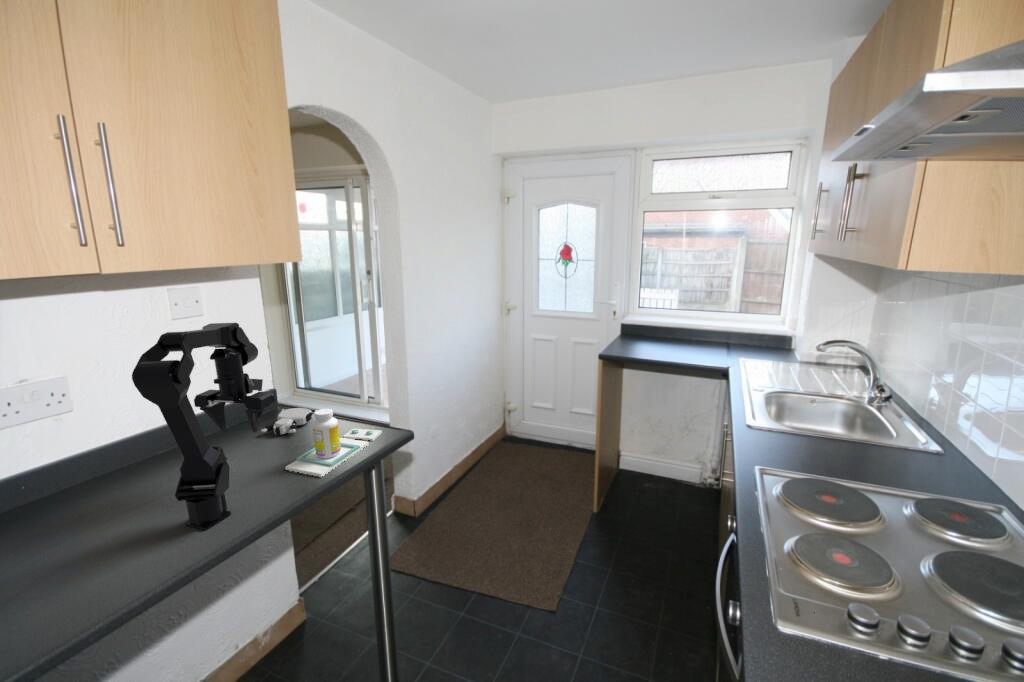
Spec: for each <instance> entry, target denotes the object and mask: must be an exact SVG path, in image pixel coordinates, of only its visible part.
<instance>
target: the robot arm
mask: <svg viewBox="0 0 1024 682" xmlns="http://www.w3.org/2000/svg"><path fill="white" fill-rule="evenodd" d="M159 336H160V337H159V338H158V339H157V341H156V343H155V344H154V345H153V346H151V347H150V348H149V349H148V350H146V351H145V352H144V353H142V355H140V357H139V359H138V360H137V363H136V365H135V367H134V369H133V371H132V374H131V380H132V383H133V385H134V386H135V388H136V389H137V391H138V392H139V393H140V395H141V396H142V397H143V398H144V399H146V400H147V401H149V402H151V403H153V404H154V405H156V406H157V407H158V408H159V411H160V412H161V415H162V416H163V419H164V421H165V422H166V424H167V427H168V429H169V431H170V432H171V435H172V437H173V439H174V441H175V444H176V445H177V447H178V449H179V452H180V454H181V456H182V462H181V465H180V468H179V472H180V476H179V479H178V483H177V486H176V490H175V493H174V496H175V498H176V500H177V502H182V501H185V504H186V510H187V515H188V520H187V521H185V523H184V524H185V525H186V526H189V527H193V528H197V529H200V530H208V529H210V528H211V527H213V526H215V525H216V524H218V523H220V522H221V521H222V520H224V519H226V518H227V517H229V516H231V515H232V511H231V510H227V509H228V505H227V500H226V494H225V493H226V492H227V490H228V489H229V488H230V465H229V463H228V458H227V457H226V456H225V452H224V449H223V448H222V447H221V446H220V445H218V446H210V444H209V443H208V441H207V438H206V436H205V433H204V431H203V429H202V426H201V425H200V422H199V420H198V418H197V415H196V413H195V410H194V409H193V406H192V404H191V401H190V400H189V398H188V391H189V388H190V386H191V384H192V381H191V377H190V376H191V375H192V371H193V370H194V367H195V364H196V363H195V361H194V358H193V356H192V355H193V354H192V353H193V350H194V349H199V348H204V347H211V348H214V350H213V352H212V353H211V355H210V357H209V359H210V360H211V361H212V360H213V361H214V366H215V373H216V378H214V379H213V383H214V384H215V385H216V384H218V389H208V390H206V391H203V392H200V393H198V394H196V395H195V397H194V399H193V403H194V404H193V405H194V407H195V408H199V410H200V411H203V412H204V413H205V415H207V416H208V417H209V418H210V420H211V421H212V422H214V424H215V425H216V426H217V427H218V428H219V429H220V430H221V431H222V432H223V431H225V430H227V423H226V415H225V407H226V404H227V403H229V404H244V406H245V408H246V410H245V411H244V412H245V414H246V417H247V419H248V423H249V425H250V428H251V430H252V432H253V433H257V432H258V430H259V427H260V423H261V420H262V415H263V413H264V411H265V409H266V408H268V407H270V406H271V405H272V404H274V403H276V400H275V399H276V398H275V395H274V394H273V393H272V391H271V392H270V391H263V382H264V379H263V378H261V379H258V378H250V376H249V374H248V373H246V372H244V368H243V367H245V366H246V365H248V364H250V363H251V362H253V361H255V360H256V359H257V358H258V355H259V349H258V347H257V346H256V345H255V344H254V343H252V342H251V340H250V339H249V337H248V336H247V334H246V332H245V331H244V329H243V327H241V326H240V324H239V323H238V322H220V323H217V322H216V323H213V322H212V323H208V324H207V325H204V326H202V327H201V329H194V330H186V331H185V330H184V331H167V332H165V333H162V334H161V335H159ZM175 352H182V356H181V358H180V360H179V359H176V360H175V359H171V360H170V359H169V360H164V359H165V358H166V357H167V356H168V355H169V354H170V353H175ZM254 391H257V392H255V393H254ZM252 393H253V394H252ZM249 394H252V395H249Z"/></svg>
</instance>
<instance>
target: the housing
mask: <svg viewBox="0 0 1024 682" xmlns="http://www.w3.org/2000/svg"><path fill="white" fill-rule="evenodd" d="M339 437H340V436H339ZM340 445H341V452H340V453H339V454H338V455H337V456H335V457H332V458H325V459H323V458H319V457H317V455H316V450H315V446H313V448H311V449H309V450H308V451H306V452H304V453H303V454H301V455H300V456H297V457H296V458H295V459H296V460H294V461H292V462H291V463H289V464H288V465H286V466H285V471H286V470H289V471H288V472H292V471H294V472H293V473H297V472H299V473H298V474H302V473H303V475H307V474H308V476H312V475H313V477H317V476H318V478H323V477H324V476H325V474H326V475H327V474H329V473H330V472H332V471H333V470H334V469H336V468H337V467H339V466H341V465H342V464H343V463H345V462H346V461H348V460H349V459H351V458H352V457H353V456H355V455H357V454H358V453H360V452H361V451H362V450H364V449H365V448H367V447H368V446H369V445H370V442H369V441H367V440H355V439H347V438H343V437H340ZM366 446H367V447H366ZM364 447H365V448H364ZM363 448H364V449H363ZM360 450H361V451H360ZM357 452H358V453H357ZM354 454H355V455H354ZM351 456H352V457H351ZM350 457H351V458H350ZM348 458H349V459H348ZM347 459H348V460H347ZM344 461H345V462H344ZM342 462H343V463H342ZM341 463H342V464H341ZM338 465H339V466H338ZM335 467H336V468H335ZM332 469H333V470H332ZM331 470H332V471H331ZM328 472H329V473H328ZM322 476H323V477H322Z"/></svg>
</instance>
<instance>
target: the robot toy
mask: <svg viewBox="0 0 1024 682" xmlns="http://www.w3.org/2000/svg"><path fill="white" fill-rule="evenodd" d="M316 411H318V409H315V410H314V412H312V410H311V409H308V408H305V407H304V408H302V407H294V408H292V407H291V408H287V409H285V408H282V409H281V411H280V413H278V414H277V416H276V420H277V421H275V422H274V423H270V424H268V425H265V426H264V428H261V431H260V432H261V433H269V432H271V431H273V432H274V435H285V434H286V433H288V434H289V433H290V434H292V433H296V432H297V428H298V427H297V426H302V425H306V424H307V423H308V422H310V421H311V420H312V419H313V418H314V416H315V412H316Z"/></svg>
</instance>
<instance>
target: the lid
mask: <svg viewBox="0 0 1024 682" xmlns="http://www.w3.org/2000/svg"><path fill="white" fill-rule="evenodd" d="M382 431H383V430H380V429H379V430H378V429H364V428H351V429H350V430H349V431H348V432H347V433H345V434H344V435H343V436H342V438H343V437H346V438H355V439H363V440H362V441H368V440H370V442H371V441H374V440H376V439H377V438H378V437H379V436H380V435H381V434H382V433H383V432H382ZM355 439H354V440H355Z"/></svg>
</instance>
